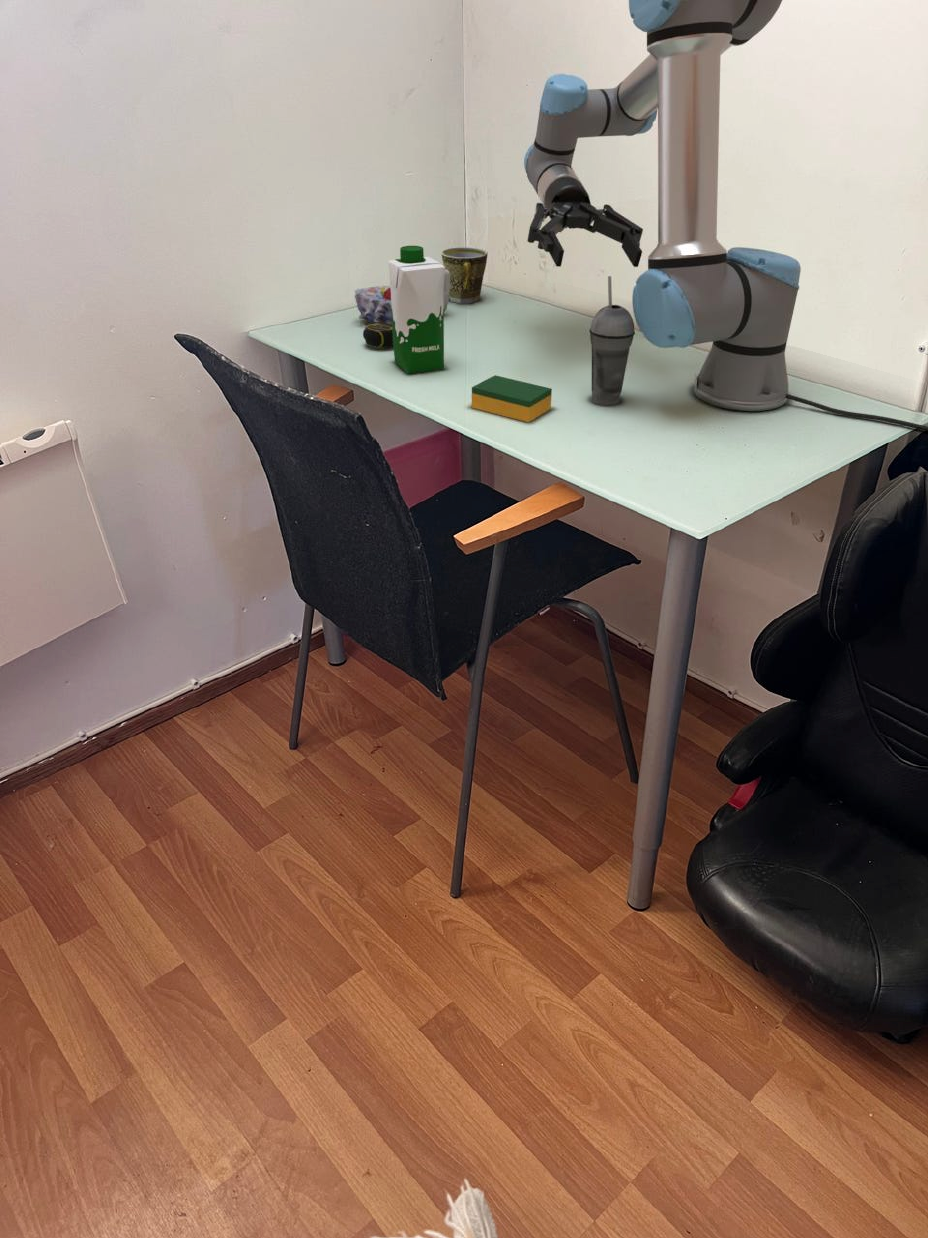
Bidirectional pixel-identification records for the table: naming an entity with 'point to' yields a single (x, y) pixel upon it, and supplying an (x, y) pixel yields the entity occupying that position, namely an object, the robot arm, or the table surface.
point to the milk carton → (417, 311)
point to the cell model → (385, 301)
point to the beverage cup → (610, 350)
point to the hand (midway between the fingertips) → (599, 259)
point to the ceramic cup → (465, 273)
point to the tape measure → (378, 335)
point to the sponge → (511, 398)
